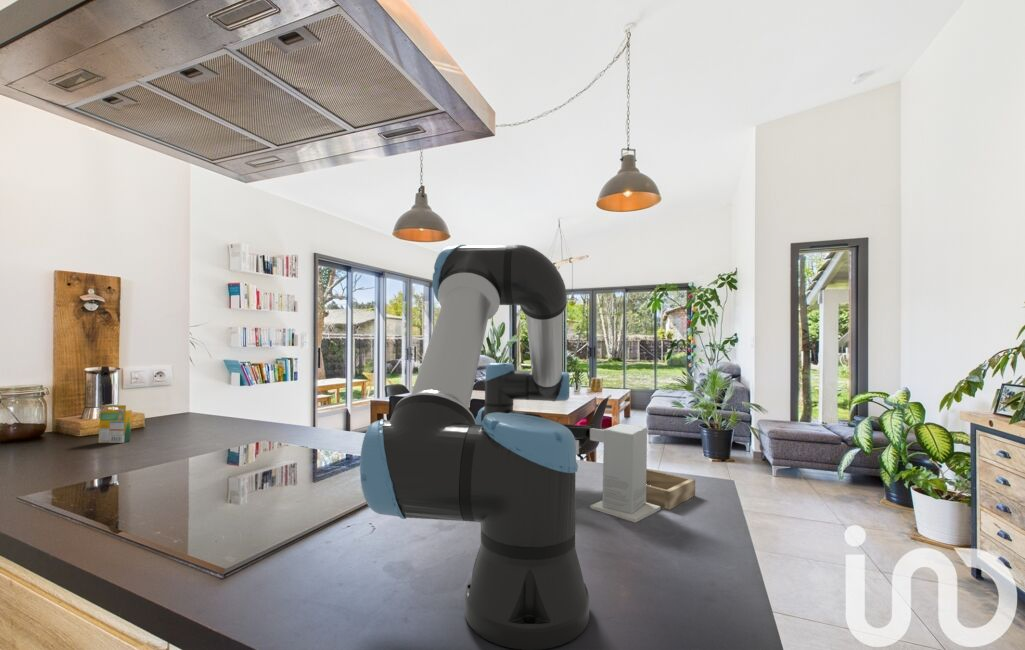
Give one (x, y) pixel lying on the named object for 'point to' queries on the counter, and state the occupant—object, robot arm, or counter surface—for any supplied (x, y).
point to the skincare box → (624, 467)
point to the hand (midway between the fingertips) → (597, 442)
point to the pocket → (668, 489)
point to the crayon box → (114, 424)
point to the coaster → (634, 517)
